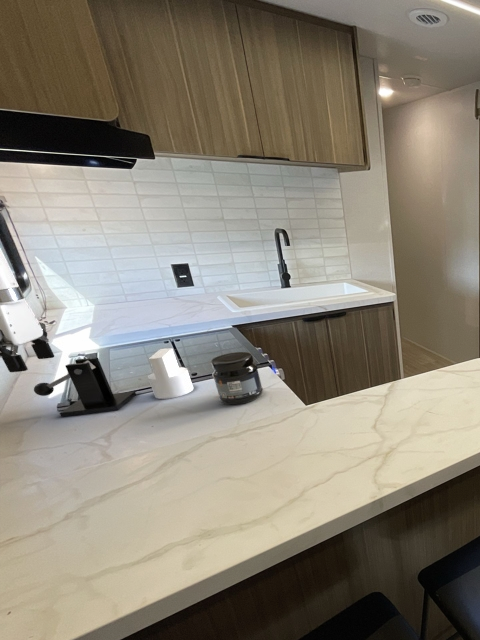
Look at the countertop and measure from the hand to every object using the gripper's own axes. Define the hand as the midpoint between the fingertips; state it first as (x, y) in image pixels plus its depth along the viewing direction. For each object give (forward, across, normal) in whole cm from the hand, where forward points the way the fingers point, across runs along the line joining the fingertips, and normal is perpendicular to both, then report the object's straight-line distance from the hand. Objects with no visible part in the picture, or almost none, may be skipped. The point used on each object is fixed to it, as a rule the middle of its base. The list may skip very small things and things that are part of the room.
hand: (33, 364), depth 101 cm
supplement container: (+14, +7, +45) cm, 48 cm away
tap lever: (+6, 0, +5) cm, 8 cm away
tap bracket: (+13, 0, +9) cm, 16 cm away
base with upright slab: (+14, -4, +25) cm, 29 cm away
